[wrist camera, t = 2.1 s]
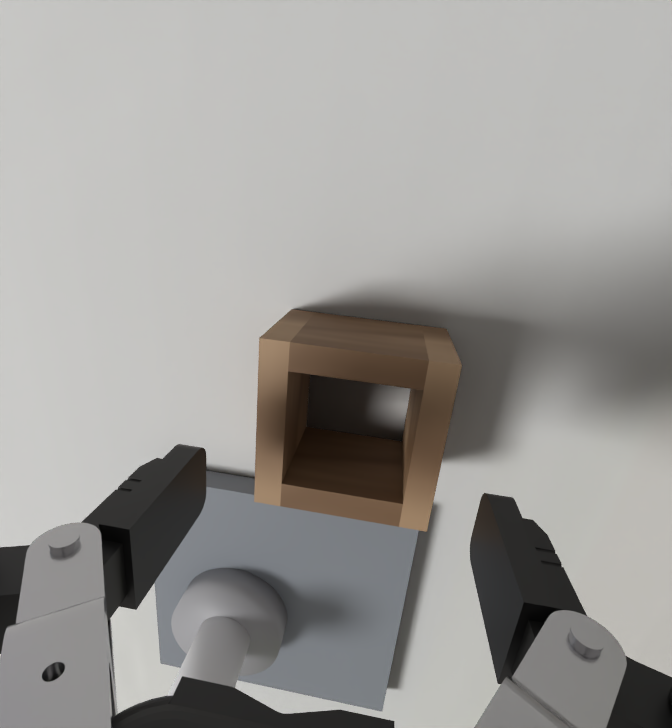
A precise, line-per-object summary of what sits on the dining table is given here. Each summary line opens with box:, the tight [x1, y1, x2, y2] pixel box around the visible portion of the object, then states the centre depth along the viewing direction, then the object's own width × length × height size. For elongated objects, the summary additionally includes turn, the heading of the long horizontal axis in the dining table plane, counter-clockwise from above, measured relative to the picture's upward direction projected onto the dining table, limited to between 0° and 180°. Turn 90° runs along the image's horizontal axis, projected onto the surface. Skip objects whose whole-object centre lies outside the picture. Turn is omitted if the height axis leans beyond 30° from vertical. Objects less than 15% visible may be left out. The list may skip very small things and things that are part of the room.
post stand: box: [155, 470, 419, 711], centre depth 19 cm, size 13×13×8 cm
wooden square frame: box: [254, 309, 462, 532], centre depth 16 cm, size 6×6×4 cm
